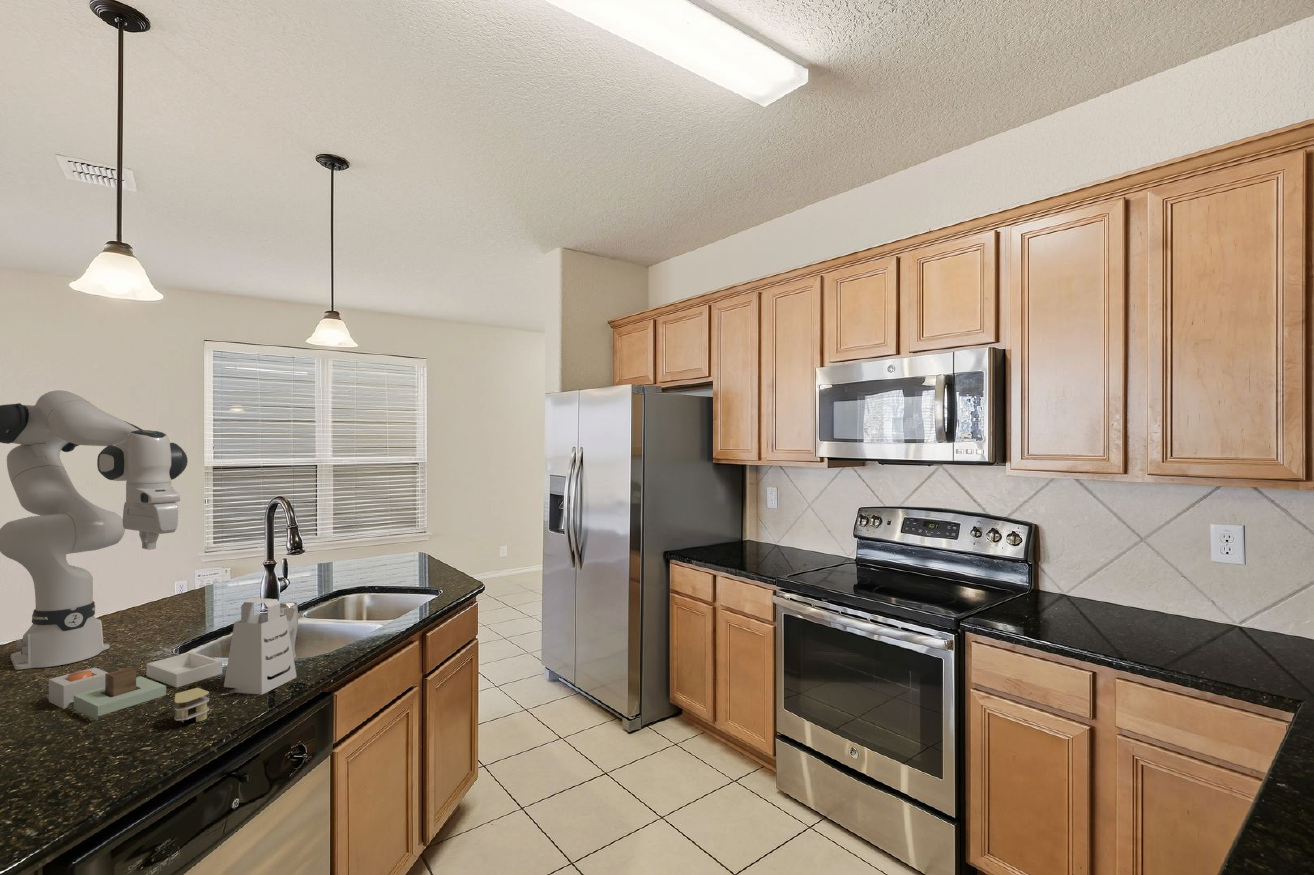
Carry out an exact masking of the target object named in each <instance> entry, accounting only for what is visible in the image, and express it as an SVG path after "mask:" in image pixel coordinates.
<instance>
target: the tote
mask: <svg viewBox="0 0 1314 875" xmlns="http://www.w3.org/2000/svg"><path fill="white" fill-rule="evenodd" d="M219 675H223V661H222V660H220V659H216V658H214V657H211V656H207V655H203V654H200V653H197V652H194V651H188V652H185V653H181V654H177V655H174V656H171V657H167V658H163V659H160V660H156V661H152V662H148V663H146V677H148V678H151V679H153V680H154V681H157V682H158V681H159V682H161V683H164V684H165V685H169V686H172V687H174V688H180V687H183V686H186V685H190V684H192V683H193V684H194V683H196V682H199V681H203V680H205V679H206V680H207V679H209V678H213V677H216V676H219Z"/></svg>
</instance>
